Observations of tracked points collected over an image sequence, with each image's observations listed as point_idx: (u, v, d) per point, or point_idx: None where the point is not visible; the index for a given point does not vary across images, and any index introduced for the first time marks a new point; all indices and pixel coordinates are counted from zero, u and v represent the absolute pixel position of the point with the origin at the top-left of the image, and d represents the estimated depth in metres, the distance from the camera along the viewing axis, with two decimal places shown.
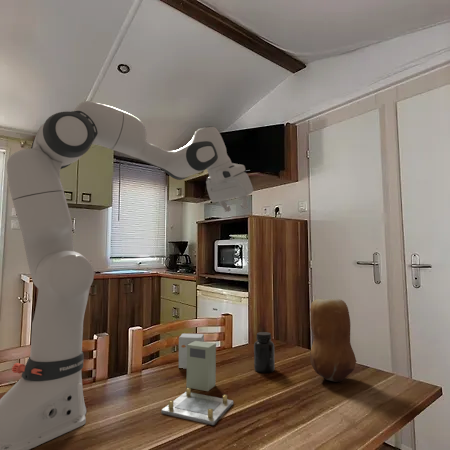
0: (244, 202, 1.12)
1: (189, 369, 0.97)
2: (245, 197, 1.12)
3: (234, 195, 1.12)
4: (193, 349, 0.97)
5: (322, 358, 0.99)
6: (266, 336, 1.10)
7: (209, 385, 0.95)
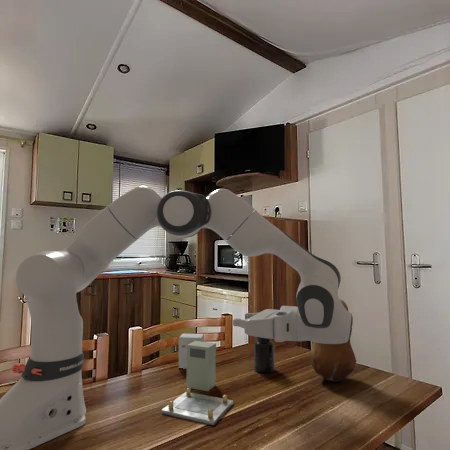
0: (240, 322, 0.89)
1: (189, 369, 0.97)
2: None
3: (254, 316, 0.89)
4: (193, 349, 0.97)
5: (322, 358, 0.99)
6: None
7: (209, 385, 0.95)
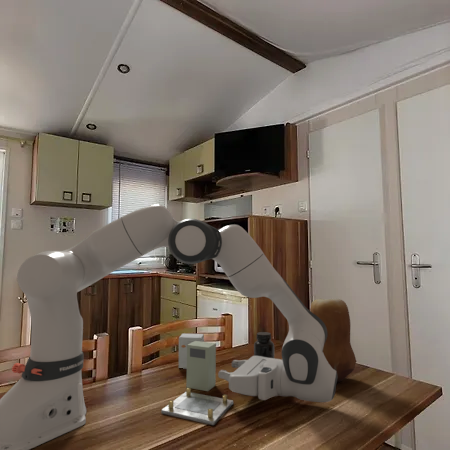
0: (225, 374, 0.89)
1: (189, 369, 0.97)
2: None
3: (239, 369, 0.89)
4: (193, 349, 0.97)
5: None
6: (266, 336, 1.10)
7: (209, 385, 0.95)
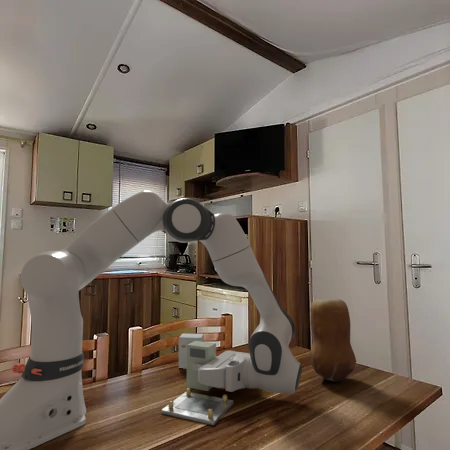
0: (198, 366, 0.94)
1: (189, 369, 0.97)
2: None
3: (210, 362, 0.93)
4: (193, 349, 0.97)
5: (322, 358, 0.99)
6: None
7: None
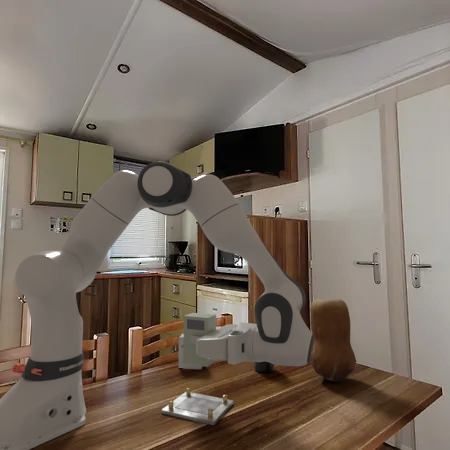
0: (196, 339, 0.83)
1: (186, 343, 0.86)
2: None
3: (209, 334, 0.82)
4: (190, 321, 0.86)
5: (322, 358, 0.99)
6: None
7: (209, 360, 0.84)
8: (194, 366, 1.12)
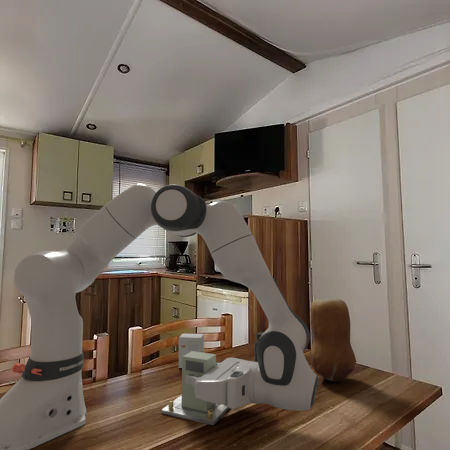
0: (192, 380, 0.78)
1: (185, 385, 0.83)
2: None
3: (209, 373, 0.79)
4: (189, 362, 0.83)
5: (322, 358, 0.99)
6: None
7: (208, 404, 0.81)
8: None
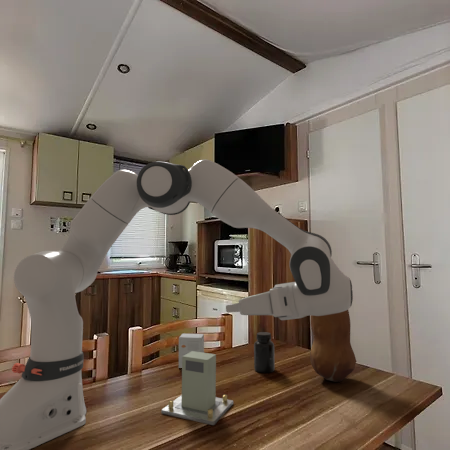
0: (233, 306, 0.81)
1: (185, 385, 0.83)
2: (239, 308, 0.80)
3: None
4: (189, 362, 0.83)
5: (322, 358, 0.99)
6: (266, 336, 1.10)
7: (208, 404, 0.81)
8: None
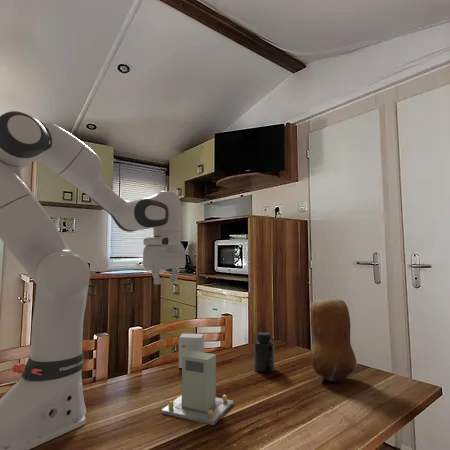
0: (154, 276, 1.04)
1: (185, 385, 0.83)
2: (155, 272, 1.03)
3: None
4: (189, 362, 0.83)
5: (322, 358, 0.99)
6: (266, 336, 1.10)
7: (208, 404, 0.81)
8: None
